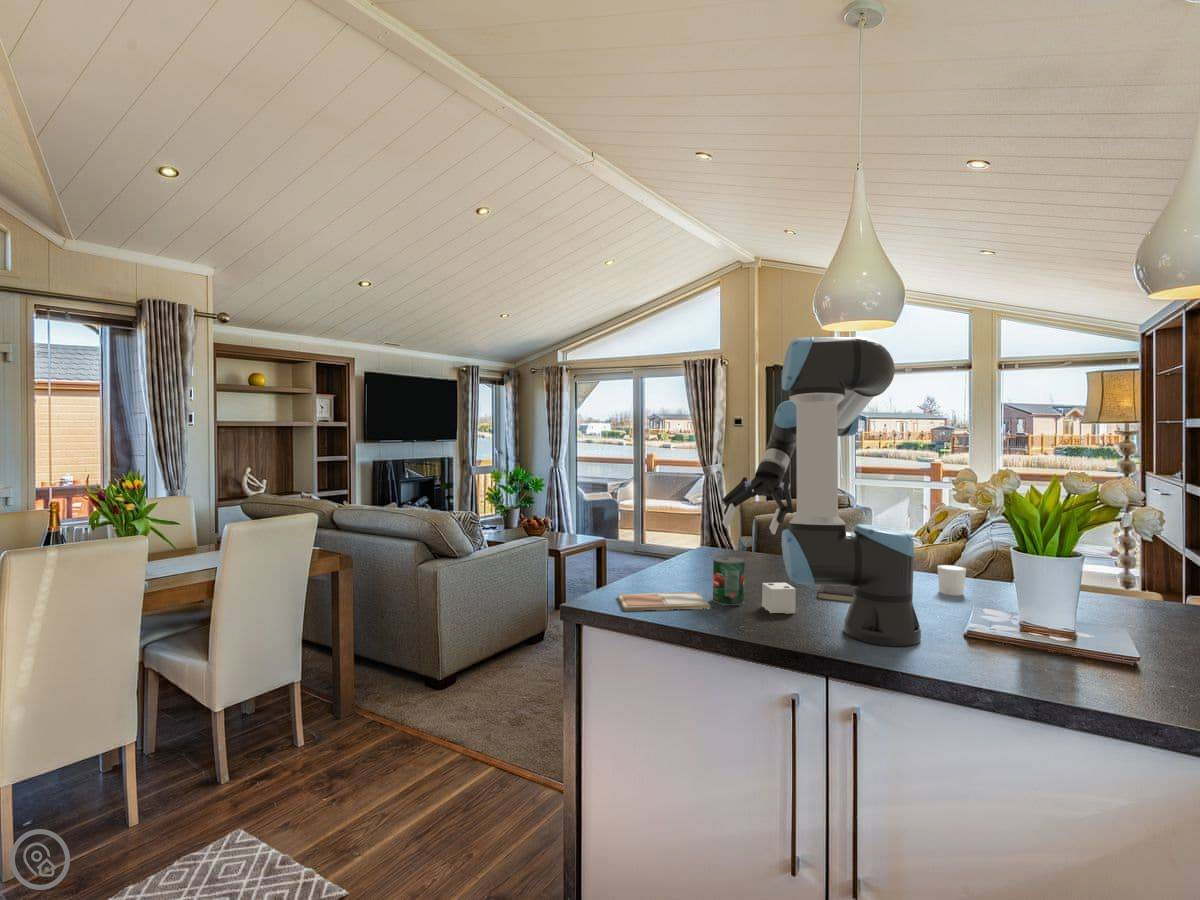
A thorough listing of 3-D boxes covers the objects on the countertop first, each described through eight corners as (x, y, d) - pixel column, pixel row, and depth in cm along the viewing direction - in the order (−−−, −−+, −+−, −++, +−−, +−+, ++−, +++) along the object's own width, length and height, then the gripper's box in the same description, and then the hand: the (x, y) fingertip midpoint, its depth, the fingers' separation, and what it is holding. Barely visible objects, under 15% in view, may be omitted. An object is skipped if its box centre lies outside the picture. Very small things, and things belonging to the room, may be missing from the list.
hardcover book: (885, 586, 181) (885, 578, 181) (883, 607, 160) (884, 598, 160) (825, 580, 188) (825, 572, 188) (816, 600, 167) (817, 591, 167)
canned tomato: (750, 603, 161) (751, 560, 161) (726, 607, 157) (727, 563, 157) (729, 595, 168) (730, 554, 168) (706, 599, 164) (706, 557, 164)
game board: (710, 609, 156) (710, 604, 156) (625, 611, 154) (625, 607, 154) (697, 595, 168) (697, 591, 168) (618, 597, 166) (618, 593, 166)
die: (795, 613, 153) (795, 588, 153) (771, 614, 153) (771, 588, 152) (785, 606, 159) (785, 582, 159) (762, 606, 159) (762, 582, 158)
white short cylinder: (969, 596, 169) (970, 570, 169) (942, 595, 170) (942, 569, 170) (959, 590, 176) (960, 564, 175) (932, 588, 177) (933, 563, 177)
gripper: (818, 480, 176) (796, 542, 165) (736, 474, 192) (711, 531, 181) (812, 462, 172) (789, 524, 161) (728, 457, 187) (701, 514, 176)
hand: (747, 528), depth 171 cm, fingers open, 13 cm apart
